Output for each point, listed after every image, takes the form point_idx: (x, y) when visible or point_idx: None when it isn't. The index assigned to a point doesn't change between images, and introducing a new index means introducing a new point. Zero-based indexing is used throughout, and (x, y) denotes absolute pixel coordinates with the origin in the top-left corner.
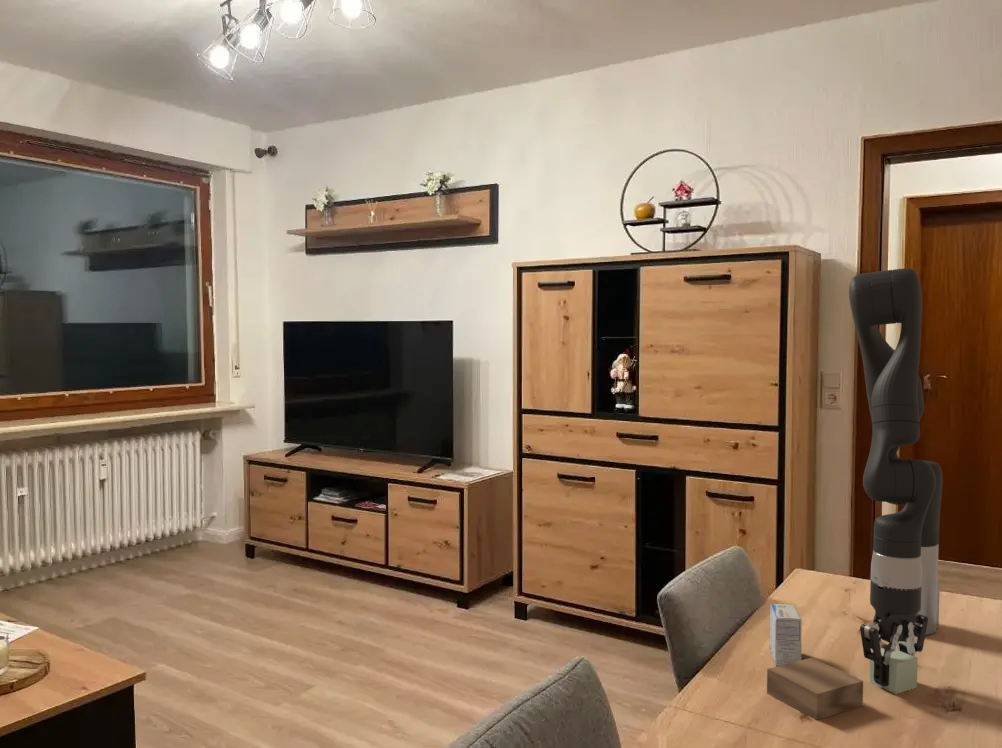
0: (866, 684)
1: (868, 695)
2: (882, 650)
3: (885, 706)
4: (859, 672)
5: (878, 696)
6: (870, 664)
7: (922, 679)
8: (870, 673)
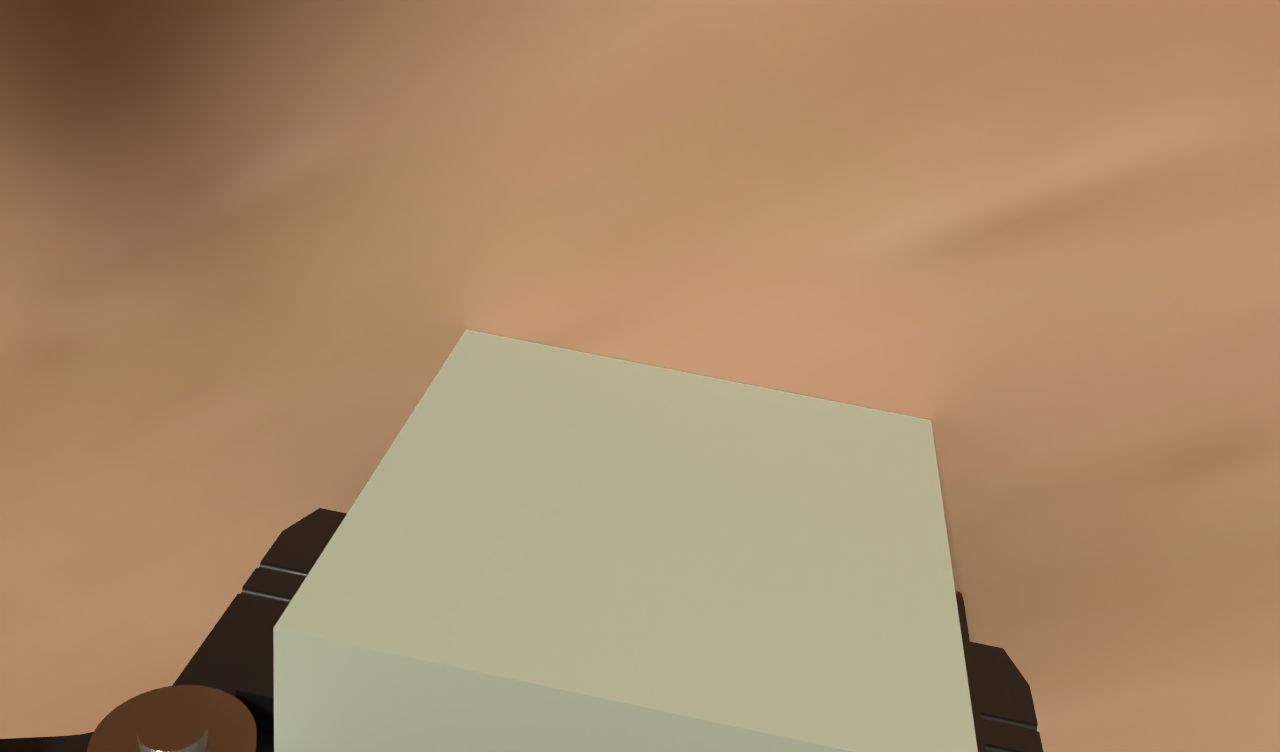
0: (348, 343)
1: (93, 504)
2: (625, 735)
3: (54, 716)
4: (661, 46)
5: (185, 584)
6: (365, 489)
7: (1185, 727)
8: (425, 405)
